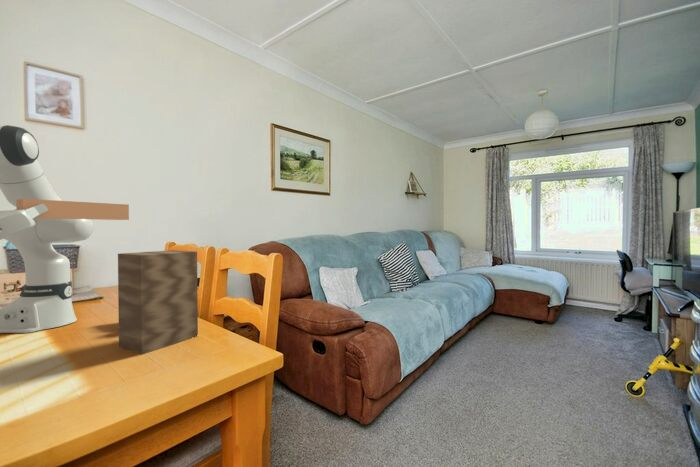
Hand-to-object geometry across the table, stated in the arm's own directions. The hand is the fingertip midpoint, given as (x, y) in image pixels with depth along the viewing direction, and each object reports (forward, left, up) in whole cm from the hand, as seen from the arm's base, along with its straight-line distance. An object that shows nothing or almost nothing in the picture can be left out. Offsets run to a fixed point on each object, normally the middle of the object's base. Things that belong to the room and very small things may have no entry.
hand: (40, 207), depth 70 cm
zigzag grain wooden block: (+16, +20, -38) cm, 46 cm away
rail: (+4, +5, -2) cm, 7 cm away
